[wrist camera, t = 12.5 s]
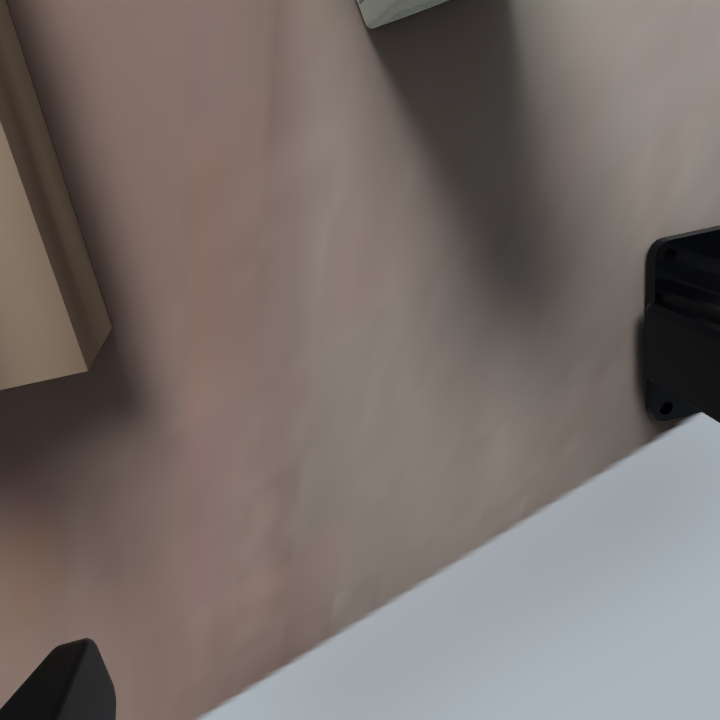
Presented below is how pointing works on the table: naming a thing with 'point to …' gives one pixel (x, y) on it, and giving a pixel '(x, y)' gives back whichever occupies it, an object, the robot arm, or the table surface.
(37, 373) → the tan flat block
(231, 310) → the table surface
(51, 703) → the robot arm
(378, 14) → the skincare box
